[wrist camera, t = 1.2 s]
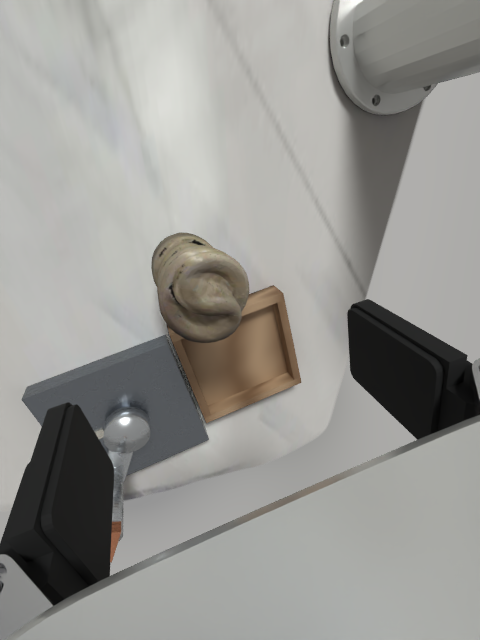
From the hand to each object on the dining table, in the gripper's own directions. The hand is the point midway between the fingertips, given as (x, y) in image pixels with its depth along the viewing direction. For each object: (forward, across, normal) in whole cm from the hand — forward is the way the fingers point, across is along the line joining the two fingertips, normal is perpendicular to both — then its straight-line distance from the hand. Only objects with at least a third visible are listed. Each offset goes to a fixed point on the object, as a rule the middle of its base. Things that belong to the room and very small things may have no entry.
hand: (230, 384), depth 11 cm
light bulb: (+23, -1, +1) cm, 23 cm away
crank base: (+22, +10, +16) cm, 29 cm away
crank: (+20, +11, +19) cm, 30 cm away
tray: (+22, -4, +14) cm, 27 cm away
